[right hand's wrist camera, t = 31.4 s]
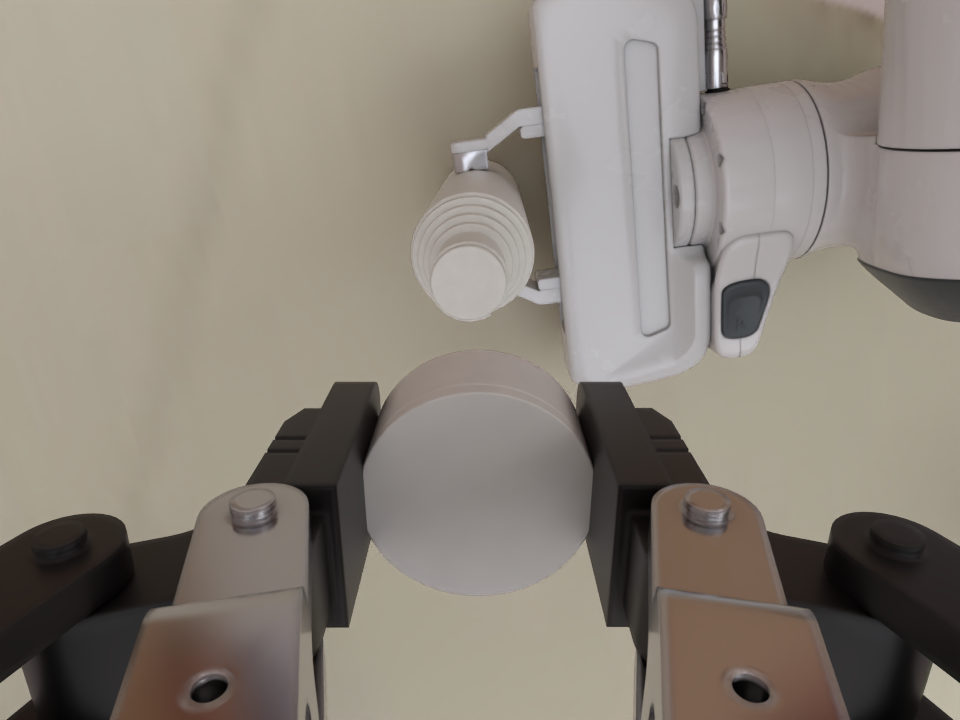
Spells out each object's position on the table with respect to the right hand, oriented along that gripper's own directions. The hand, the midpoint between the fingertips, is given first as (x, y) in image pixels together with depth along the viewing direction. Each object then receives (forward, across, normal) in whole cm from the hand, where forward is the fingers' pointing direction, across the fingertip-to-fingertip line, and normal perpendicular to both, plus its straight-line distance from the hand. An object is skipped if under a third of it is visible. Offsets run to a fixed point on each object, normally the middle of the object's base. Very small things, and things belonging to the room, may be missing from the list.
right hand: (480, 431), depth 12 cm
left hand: (+25, -1, 0) cm, 25 cm away
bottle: (+31, 0, 0) cm, 31 cm away
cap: (-2, 0, 0) cm, 2 cm away
